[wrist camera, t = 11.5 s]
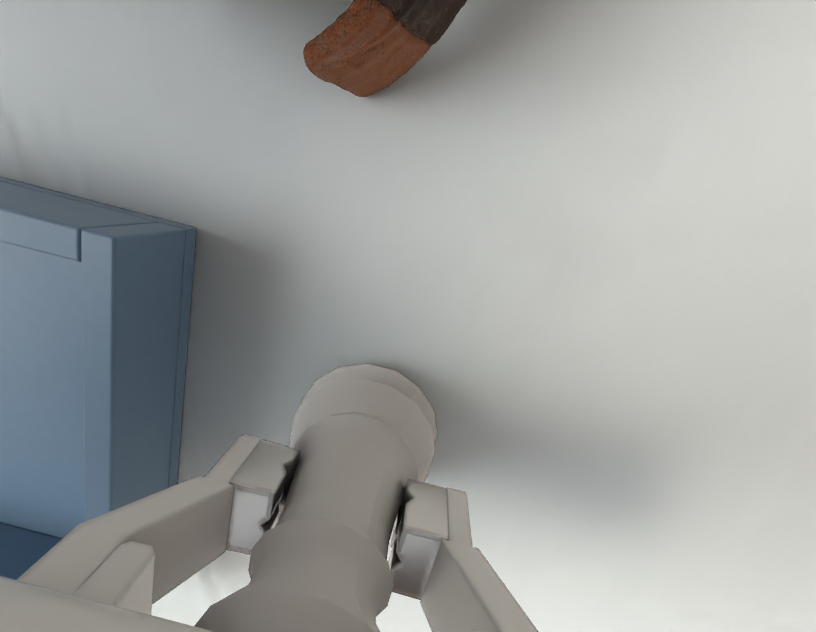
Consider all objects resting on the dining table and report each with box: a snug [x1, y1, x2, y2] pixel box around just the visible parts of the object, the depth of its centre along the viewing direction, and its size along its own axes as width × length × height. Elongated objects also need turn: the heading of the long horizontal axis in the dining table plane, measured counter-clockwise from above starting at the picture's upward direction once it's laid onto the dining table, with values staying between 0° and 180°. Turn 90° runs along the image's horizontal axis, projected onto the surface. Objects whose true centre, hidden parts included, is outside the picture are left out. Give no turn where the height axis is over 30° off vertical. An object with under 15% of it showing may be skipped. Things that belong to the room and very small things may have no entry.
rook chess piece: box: [194, 364, 438, 632], centre depth 9 cm, size 4×4×8 cm
